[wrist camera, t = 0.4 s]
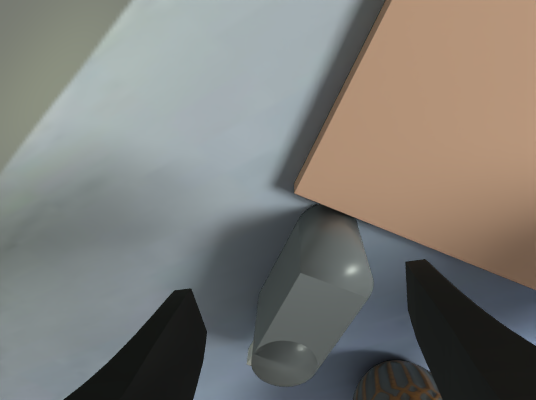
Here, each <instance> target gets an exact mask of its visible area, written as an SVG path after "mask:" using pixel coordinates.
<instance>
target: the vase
mask: <svg viewBox="0 0 536 400" xmlns="http://www.w3.org/2000/svg"><path fill="white" fill-rule="evenodd" d="M353 400H443V399H442V397H441V395H440V393H439V390H438V388H437V386H436V383H435V381H434V379H433V376H432V374H431V372H429V371H428V370H426V369H424V368H423V367H421V366H418V365H416V364H413V363H410V362H406V361H400V360H392V361H386V362H383V363H380V364H378V365H376V366H374V367H373V368H372V369H370V370H369V371H368V372H367V373H366V374H365V375H364V376H363V377H362V379H361V380H360V382H359V383H358V385H357V387H356V390H355V393H354V397H353Z"/></svg>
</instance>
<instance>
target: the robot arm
mask: <svg viewBox="0 0 536 400" xmlns="http://www.w3.org/2000/svg"><path fill="white" fill-rule="evenodd" d="M405 264H406V283H407V302H408V312H409V316H410V319H411V322H412V326H413V329H414V332H415V336H416V339H417V341H418V344H419V346H420V349H421V351H422V353H423V356H424V358H425V360H426V363H427V365H428V367H429V369H430V372H431V374H432V376H433V379H434V381H435V383H436V386H437V388H438V390H439V393H440V395H441V397H442V399H443V400H536V346H535V345H534V344H532V343H530V342H529V341H527V340H525V339H524V338H522V337H521V336H519V335H518V334H516V333H515V332H513V331H511V330H510V329H509V328H507V327H506V326H504V325H503V324H501V323H500V322H499V321H497V320H496V319H495V318H493V317H492V316H491V315H489V314H488V313H487V312H485V311H484V310H483V309H481V308H480V307H479V306H478V305H476V304H475V303H474V302H473V301H471V300H470V299H469V298H468V297H467V296H465V295H464V294H463V293H462V292H461V291H460V290H458V289H457V288H456V287H455V286H454V285H453V284H452V283H451V282H449V281H448V280H447V279H446V278H445V277H444V276H443V275H442V274H441V273H440V272H439V271H438V270H437V269H435V268H434V267H433V266H432V265H431V264H430V263H429V262H428V261H427V260H425V259H424V260H416V261H408V262H405ZM206 336H207V331H206V328H205V325H204V322H203V320H202V317H201V314H200V311H199V309H198V306H197V303H196V300H195V298H194V295H193V292H192V289H183V290H175V291H174V292H173V293H172V294H171V295H170V296H169V297H168V298H167V299H166V300H165V302H164V303H163V304H162V305H161V306H160V307H159V308H158V310H157V311H156V312H155V313H154V314H153V315H152V316H151V318H150V319H149V320H148V321H147V322H146V323H145V324H144V325H143V327H142V328H141V329H140V330H139V331H138V332H137V333H136V334H135V335H134V336H133V337H132V338H131V340H130V341H129V342H128V343H127V344H126V345H125V346H124V347H123V348H122V349H121V350H120V351H119V352H118V353H117V354H116V355H115V356H114V357H113V358H112V359H111V360H110V361H109V362H108V363H107V364H106V365H105V366H103V367H102V368H101V369H100V370H99V371H98V372H97V373H96V374H94V375H93V376H92V377H91V378H90V379H89V380H88V381H86V382H85V383H84V384H83V385H82V386H80V387H79V388H78V389H77V390H75V391H74V392H73V393H71V394H70V395H69V396H68V397H66V398H65V399H64V400H193V398H194V394H195V391H196V387H197V383H198V379H199V375H200V372H201V368H202V364H203V359H204V352H205V344H206Z"/></svg>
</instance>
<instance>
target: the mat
mask: <svg viewBox="0 0 536 400" xmlns="http://www.w3.org/2000/svg"><path fill="white" fill-rule="evenodd" d="M294 193H295V194H298V195H300V196H302V197H305V198H307V199H310V200H312V201H315V202H317V203H320V204H322V205H325V206H327V207H330V208H332V209H335V210H337V211H340V212H342V213H345V214H347V215H350V216H352V217H355V218H357V219H360V220H362V221H365V222H367V223H370V224H372V225H375V226H377V227H380V228H382V229H385V230H387V231H390V232H392V233H395V234H397V235H400V236H402V237H405V238H407V239H410V240H412V241H415V242H417V243H420V244H422V245H425V246H427V247H430V248H432V249H434V250H437V251H439V252H442V253H444V254H447V255H449V256H452V257H454V258H457V259H459V260H462V261H464V262H467V263H469V264H472V265H474V266H477V267H479V268H482V269H484V270H487V271H489V272H492V273H494V274H497V275H499V276H502V277H504V278H507V279H509V280H512V281H514V282H517V283H519V284H522V285H524V286H527V287H529V288H532V289H534V290H536V0H386V1H385V3H384V5H383V7H382V9H381V11H380V13H379V15H378V17H377V19H376V21H375V23H374V25H373V27H372V29H371V31H370V33H369V35H368V37H367V39H366V41H365V43H364V45H363V47H362V49H361V51H360V53H359V55H358V57H357V59H356V61H355V63H354V65H353V67H352V69H351V71H350V73H349V75H348V77H347V79H346V81H345V83H344V85H343V87H342V89H341V91H340V93H339V95H338V97H337V99H336V101H335V103H334V105H333V107H332V109H331V111H330V113H329V115H328V117H327V119H326V121H325V123H324V125H323V127H322V129H321V131H320V133H319V135H318V137H317V139H316V141H315V143H314V145H313V147H312V149H311V151H310V153H309V155H308V157H307V159H306V161H305V163H304V165H303V167H302V169H301V171H300V173H299V175H298V177H297V179H296V181H295V183H294Z"/></svg>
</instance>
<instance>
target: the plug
mask: <svg viewBox="0 0 536 400" xmlns="http://www.w3.org/2000/svg"><path fill="white" fill-rule="evenodd" d="M372 290H373V277H372V274H371V270H370V267H369V263H368V260H367V256H366V253H365V249H364V246H363V242H362V239H361V235H360V232H359V228H358V225H357V222H356V219H355V217H352V216H350V215H347V214H345V213H342V212H340V211H337V210H335V209H332V208H330V207H327V206H325V205H322V204H319V205H316V206H313V207H311V208H309V209H308V210H306V211H305V212H304V213H303V214H302V215H301V217H300V218H299V220H298V222H297V224H296V226H295V227H294V229H293V231H292V233H291V235H290V237H289V239H288V241H287V242H286V244H285V246H284V248H283V250H282V252H281V254H280V256H279V258H278V259H277V261H276V263H275V265H274V267H273V269H272V271H271V273H270V274H269V276H268V278H267V280H266V282H265V284H264V286H263V288H262V290H261V291H260V294H259V297H258V305H257V314H256V323H255V332H254V340H253V342H252V344H251V345H250V347H249V349H248V358H247V365H250V366H252V369H253V371H254V373H255V374H256V375H257V376H258V377H259V378H260V379H261V380H263V381H265V382H267V383H269V384H271V385H275V386H282V387H290V386H296V385H300V384H302V383H305V382H306V381H308V380H309V379H311V378H312V377H313V375H314V374H315V373H316V371H317V370H318V369H319V367H320V366H321V364H322V363H323V362H324V360H325V359H326V357H327V356H328V354H329V353H330V352H331V350H332V349H333V347H334V346H335V345H336V343H337V342H338V340H339V339H340V338H341V336H342V335H343V333H344V332H345V331H346V329H347V328H348V326H349V325H350V324H351V322H352V321H353V319H354V318H355V317H356V315H357V314H358V312H359V311H360V309H361V308H362V307H363V305H364V304H365V302H366V301H367V300H368V298H369V297H370V295H371V293H372Z"/></svg>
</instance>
